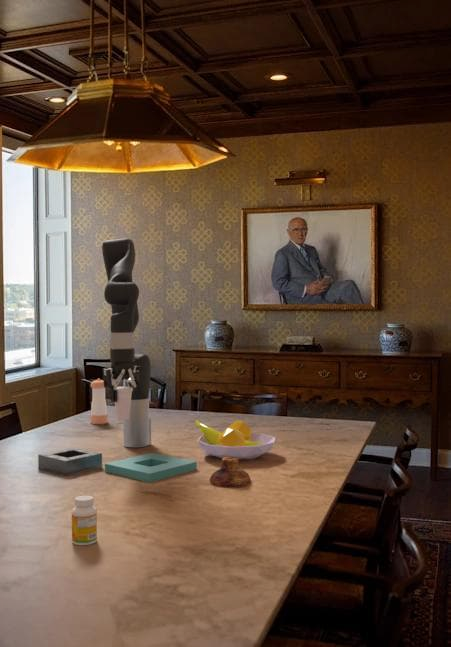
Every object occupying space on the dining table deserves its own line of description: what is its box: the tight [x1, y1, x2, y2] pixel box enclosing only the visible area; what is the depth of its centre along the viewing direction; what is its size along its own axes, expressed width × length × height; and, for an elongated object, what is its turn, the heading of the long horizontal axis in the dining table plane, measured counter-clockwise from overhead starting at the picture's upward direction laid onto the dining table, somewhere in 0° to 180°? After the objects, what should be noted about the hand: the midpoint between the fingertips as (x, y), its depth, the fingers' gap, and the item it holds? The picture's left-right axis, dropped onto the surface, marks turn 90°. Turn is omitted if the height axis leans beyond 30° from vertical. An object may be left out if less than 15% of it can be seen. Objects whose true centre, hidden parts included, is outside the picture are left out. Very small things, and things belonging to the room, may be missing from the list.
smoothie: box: [114, 379, 133, 421], centre depth 220 cm, size 6×6×14 cm
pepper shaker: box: [90, 378, 109, 425], centre depth 305 cm, size 7×7×19 cm
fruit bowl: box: [194, 419, 276, 461], centre depth 240 cm, size 28×27×11 cm
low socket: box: [104, 452, 198, 483], centre depth 219 cm, size 20×20×2 cm
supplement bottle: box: [71, 495, 98, 547], centre depth 155 cm, size 5×5×10 cm
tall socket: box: [37, 447, 103, 477], centre depth 223 cm, size 14×14×4 cm
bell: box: [209, 457, 251, 488], centre depth 205 cm, size 12×12×7 cm
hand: (122, 400), depth 220 cm, fingers closed on smoothie, 6 cm apart
